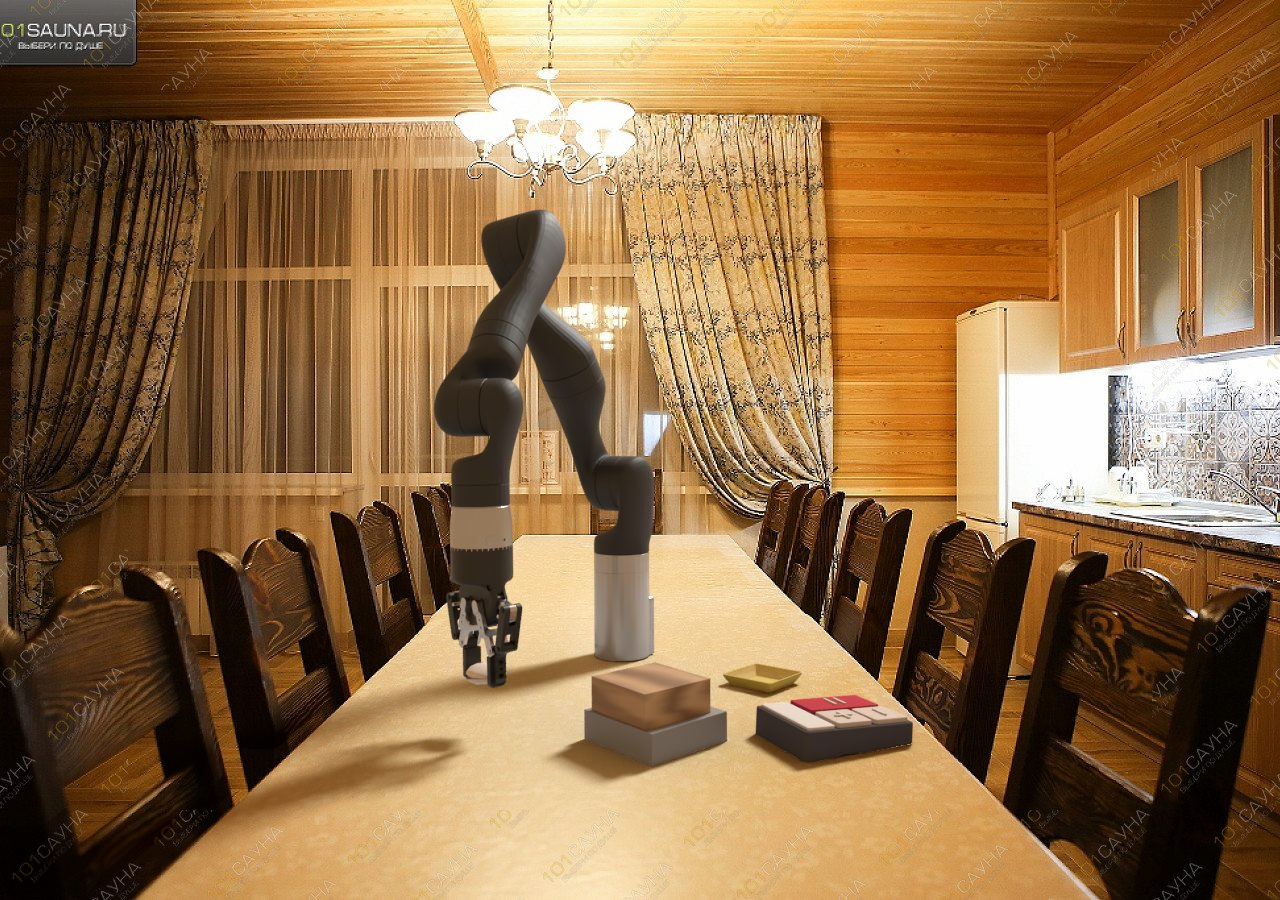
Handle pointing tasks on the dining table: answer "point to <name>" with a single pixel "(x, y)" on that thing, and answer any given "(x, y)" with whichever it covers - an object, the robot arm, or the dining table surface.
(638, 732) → the tower base block
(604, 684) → the tower top block
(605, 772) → the dining table surface
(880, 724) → the calculator
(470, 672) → the pistachio nut
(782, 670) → the yellow shallow square tray
